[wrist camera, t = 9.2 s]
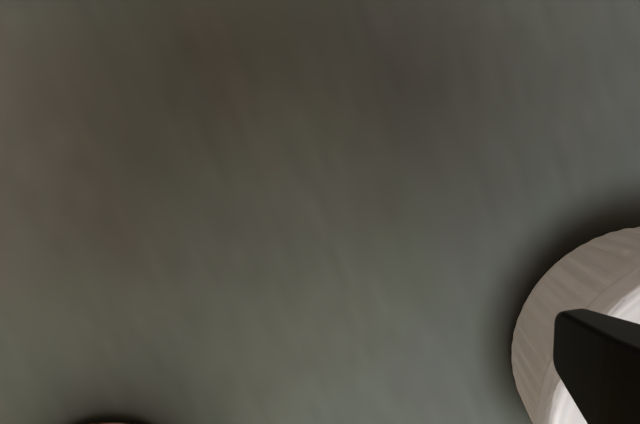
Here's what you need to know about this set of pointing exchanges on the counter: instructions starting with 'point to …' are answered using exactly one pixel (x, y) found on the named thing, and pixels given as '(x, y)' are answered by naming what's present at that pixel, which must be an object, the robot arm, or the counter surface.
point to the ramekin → (566, 294)
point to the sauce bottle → (109, 423)
